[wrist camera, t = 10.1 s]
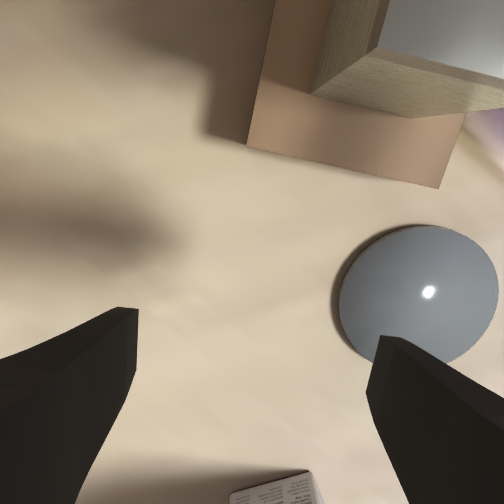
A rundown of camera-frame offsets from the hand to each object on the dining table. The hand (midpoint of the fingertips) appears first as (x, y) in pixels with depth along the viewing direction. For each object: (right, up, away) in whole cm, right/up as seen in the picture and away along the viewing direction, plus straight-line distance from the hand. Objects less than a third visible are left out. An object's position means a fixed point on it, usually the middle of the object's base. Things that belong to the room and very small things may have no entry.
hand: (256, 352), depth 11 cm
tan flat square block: (+5, +12, +7) cm, 15 cm away
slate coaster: (+9, 0, +11) cm, 14 cm away
